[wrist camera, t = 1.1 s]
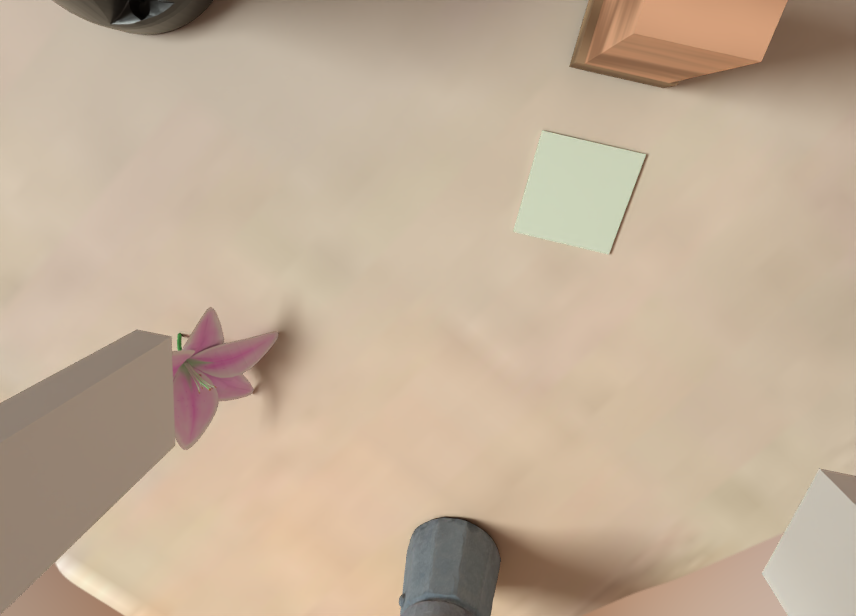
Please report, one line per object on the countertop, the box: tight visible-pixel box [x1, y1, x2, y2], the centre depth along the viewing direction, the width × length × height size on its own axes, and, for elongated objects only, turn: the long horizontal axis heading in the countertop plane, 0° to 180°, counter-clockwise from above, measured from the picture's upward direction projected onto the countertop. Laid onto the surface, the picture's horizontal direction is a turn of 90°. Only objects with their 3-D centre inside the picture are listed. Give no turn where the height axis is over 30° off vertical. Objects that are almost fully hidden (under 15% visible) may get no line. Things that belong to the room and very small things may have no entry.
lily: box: [172, 307, 279, 450], centre depth 38 cm, size 12×12×10 cm
